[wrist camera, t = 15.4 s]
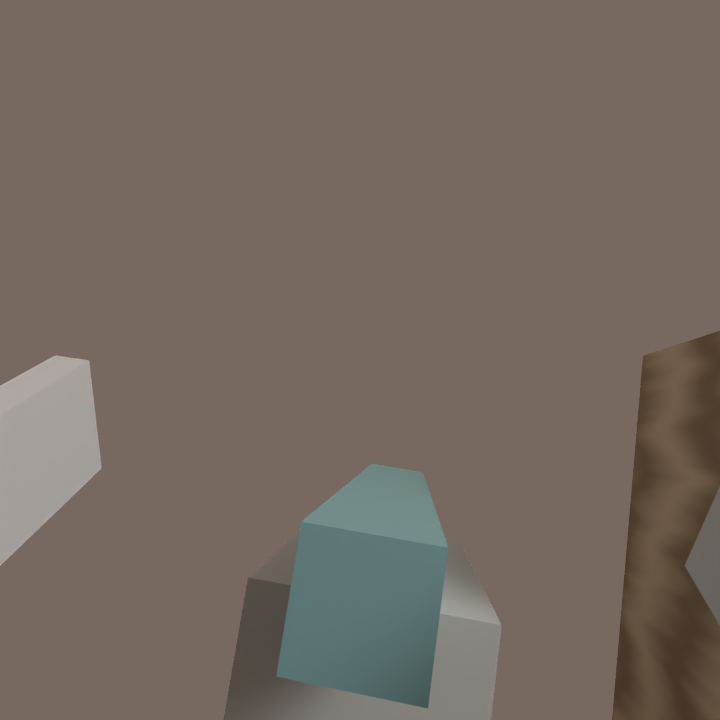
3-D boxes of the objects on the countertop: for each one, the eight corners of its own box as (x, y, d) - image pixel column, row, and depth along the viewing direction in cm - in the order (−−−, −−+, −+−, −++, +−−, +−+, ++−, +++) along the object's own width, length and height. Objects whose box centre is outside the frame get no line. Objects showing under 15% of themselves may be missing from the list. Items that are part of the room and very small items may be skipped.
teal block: (427, 708, 12) (448, 547, 12) (276, 676, 12) (301, 521, 12) (415, 524, 35) (422, 472, 36) (364, 515, 36) (371, 464, 36)
